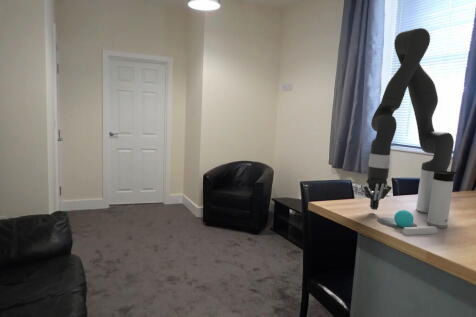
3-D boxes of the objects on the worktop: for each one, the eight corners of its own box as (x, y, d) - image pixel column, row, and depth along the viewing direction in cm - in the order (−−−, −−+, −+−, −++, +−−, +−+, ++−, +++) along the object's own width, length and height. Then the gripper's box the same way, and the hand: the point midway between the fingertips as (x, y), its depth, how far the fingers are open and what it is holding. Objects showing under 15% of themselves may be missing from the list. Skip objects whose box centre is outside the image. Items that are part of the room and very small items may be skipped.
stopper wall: (432, 231, 114) (433, 226, 114) (436, 233, 113) (437, 227, 112) (403, 233, 111) (403, 227, 110) (406, 234, 109) (407, 228, 109)
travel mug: (451, 229, 118) (459, 173, 115) (430, 227, 119) (438, 171, 117) (444, 224, 124) (451, 170, 122) (424, 222, 125) (431, 168, 123)
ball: (403, 224, 121) (403, 207, 120) (417, 228, 115) (418, 211, 115) (390, 225, 119) (390, 209, 118) (403, 230, 113) (404, 213, 113)
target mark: (398, 217, 130) (399, 216, 130) (426, 228, 117) (426, 228, 117) (369, 218, 126) (370, 217, 126) (394, 229, 114) (394, 229, 114)
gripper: (370, 167, 126) (365, 212, 128) (399, 167, 130) (394, 211, 132) (358, 164, 133) (353, 206, 136) (386, 164, 137) (381, 206, 139)
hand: (373, 209), depth 134 cm, fingers closed
